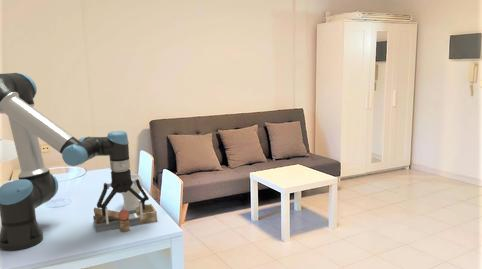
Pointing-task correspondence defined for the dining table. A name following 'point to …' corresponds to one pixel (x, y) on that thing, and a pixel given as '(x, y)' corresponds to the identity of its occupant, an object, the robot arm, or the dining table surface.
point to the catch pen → (147, 214)
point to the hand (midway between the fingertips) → (124, 220)
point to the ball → (123, 215)
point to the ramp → (100, 216)
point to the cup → (131, 199)
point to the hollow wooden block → (124, 225)
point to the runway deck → (116, 222)
